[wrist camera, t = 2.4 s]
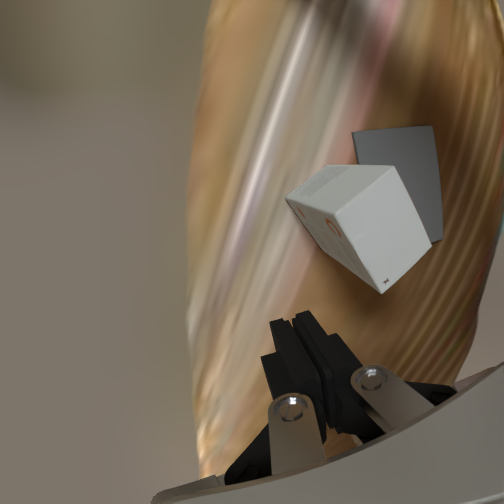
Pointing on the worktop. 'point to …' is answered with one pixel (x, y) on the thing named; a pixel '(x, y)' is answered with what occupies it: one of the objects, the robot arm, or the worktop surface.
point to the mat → (408, 167)
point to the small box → (363, 220)
